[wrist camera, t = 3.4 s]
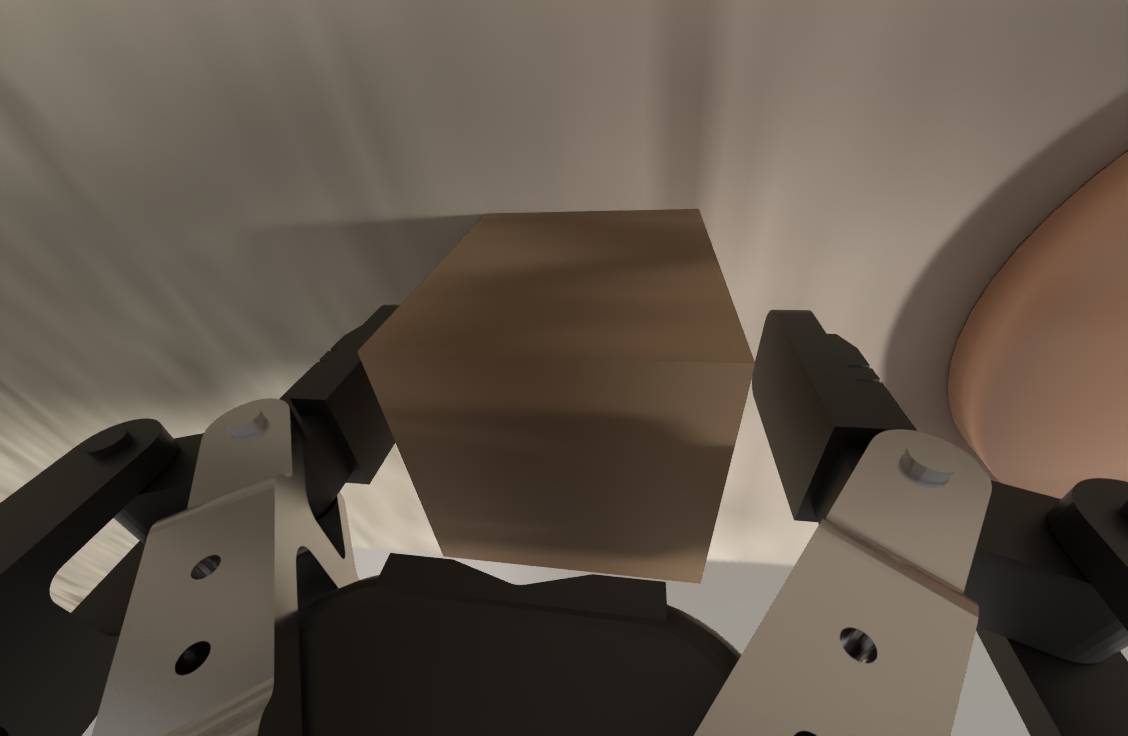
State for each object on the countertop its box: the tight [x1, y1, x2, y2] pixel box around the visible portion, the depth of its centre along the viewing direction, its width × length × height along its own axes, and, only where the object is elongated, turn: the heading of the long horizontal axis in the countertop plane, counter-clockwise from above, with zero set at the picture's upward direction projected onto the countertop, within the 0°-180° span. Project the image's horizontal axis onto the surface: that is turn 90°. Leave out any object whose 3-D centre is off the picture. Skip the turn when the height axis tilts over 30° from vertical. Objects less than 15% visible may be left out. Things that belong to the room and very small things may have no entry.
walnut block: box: [357, 209, 755, 583], centre depth 9 cm, size 5×5×6 cm
